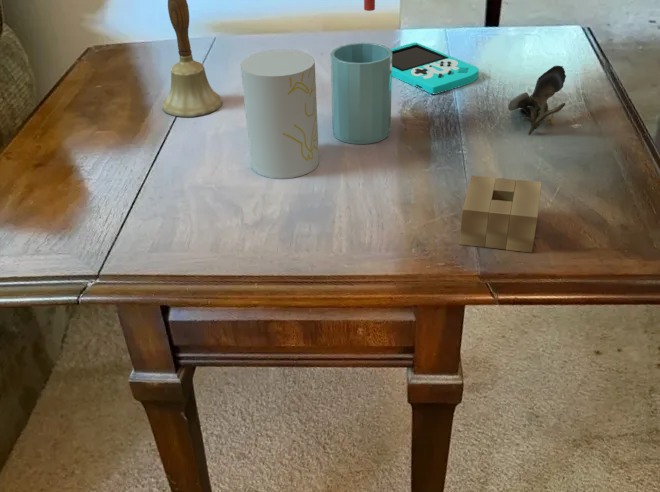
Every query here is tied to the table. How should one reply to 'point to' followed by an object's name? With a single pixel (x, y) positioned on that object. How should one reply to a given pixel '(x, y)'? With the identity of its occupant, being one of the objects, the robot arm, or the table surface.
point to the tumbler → (361, 92)
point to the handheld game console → (430, 68)
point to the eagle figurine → (540, 98)
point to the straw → (369, 5)
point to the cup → (281, 112)
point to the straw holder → (500, 213)
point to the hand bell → (187, 73)
